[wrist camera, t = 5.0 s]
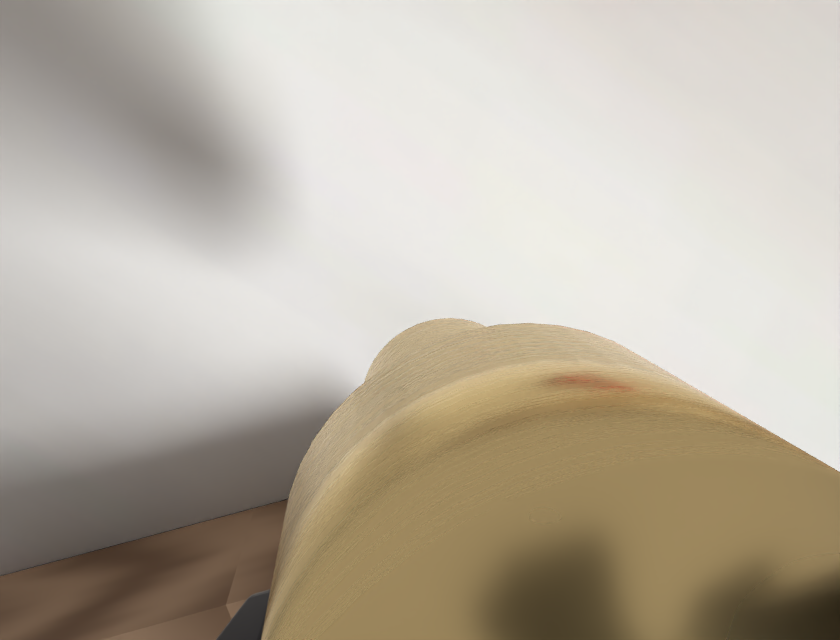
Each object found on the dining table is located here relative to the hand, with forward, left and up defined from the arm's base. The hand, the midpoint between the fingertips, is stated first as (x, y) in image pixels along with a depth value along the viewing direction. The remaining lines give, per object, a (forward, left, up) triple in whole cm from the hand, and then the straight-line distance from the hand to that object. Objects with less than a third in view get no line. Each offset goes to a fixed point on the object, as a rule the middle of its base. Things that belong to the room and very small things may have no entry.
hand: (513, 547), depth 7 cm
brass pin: (0, 0, -5) cm, 5 cm away
